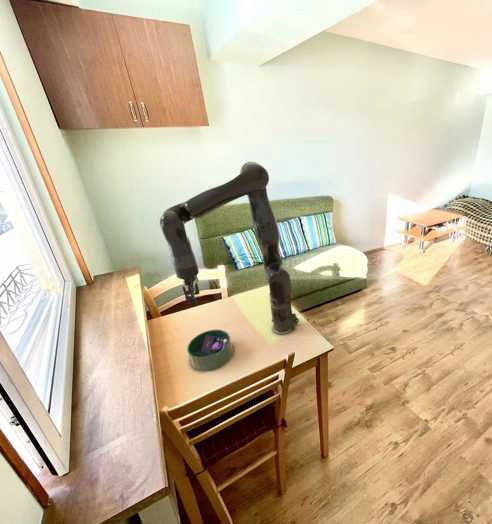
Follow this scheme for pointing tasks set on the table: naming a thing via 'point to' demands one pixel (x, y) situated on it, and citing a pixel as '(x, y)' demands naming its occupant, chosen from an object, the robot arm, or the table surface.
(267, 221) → the robot arm
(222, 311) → the table surface
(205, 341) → the game card
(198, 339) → the bowl
